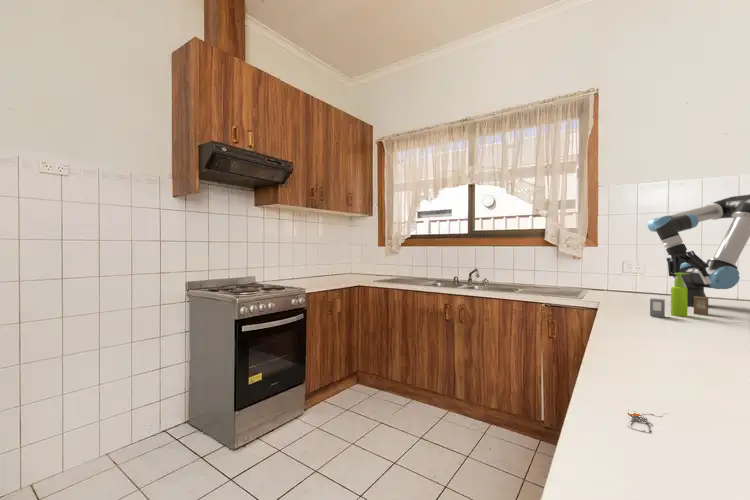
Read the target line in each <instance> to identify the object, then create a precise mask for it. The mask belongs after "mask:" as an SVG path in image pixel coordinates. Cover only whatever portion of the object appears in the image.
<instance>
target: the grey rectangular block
mask: <svg viewBox="0 0 750 500" xmlns="http://www.w3.org/2000/svg"><path fill="white" fill-rule="evenodd" d="M665 300H666V299H665V298H657V297H656V298H653V297H651V298H650V299H649V317H650V316H652V317H651V318H660V317H663V319H664V318H665V315H666V313H665V312H666V311H665V308H666V304H665V302H666V301H665Z"/></svg>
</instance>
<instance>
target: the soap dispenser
mask: <svg viewBox="0 0 750 500" xmlns="http://www.w3.org/2000/svg"><path fill="white" fill-rule="evenodd" d="M675 274H677V279H676V280H675V279H674V280H673V281H674V282H673V283H674V284H673V286H670V315H671V316H674V317H688V306H687V288H686V287H684V280H682V274H685V275H689V274H688V273H675Z"/></svg>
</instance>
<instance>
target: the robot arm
mask: <svg viewBox="0 0 750 500" xmlns="http://www.w3.org/2000/svg"><path fill="white" fill-rule="evenodd" d="M719 219H720V220H721V219H733V220H732V222H731V223H730V226H729V227H728V229H727V231H726V233H725V235H724V237H723V239H722V241H721V242H720V244H719V247H718V248H717V250H716V252H715V254H714V255H713V257H711V258H709V259H707V260H706V262H705V261H704V260H703V259H702V258H700V257H699V256H698V255H697V254H696V253H695V251H694V250H690V251H687V250H688V248H687V246H686V245H685V243H684V241H683V239H682V237H681V235H680V232H684V231H688V230H691V229H694V228H696V227H697V226H698V225H699V223H701V222H705V221H709V220H712V221H714V220H715V221H716V220H719ZM647 228H648V230H649V231H650V232H653V233H654V232H656V234H657V235H658V236H659V239H660V241H661V243H662V245H663V247H664V248H666V249H665V251H666V252H667V254H668V256H670V257H666V261H667V269H668V276H669V277H673V279H674V280H676V279H677V274H675V273H688V274H689V275H685V274H682V280H684V287H686V288H687V307H694V296H697V297H707V295H706V294H705V288H707V289H714V290H729V289H732V288H734V287H736V285H738V283H739V281H740V272H739V270H738V265H737V264H736V263H737V262H738V260H739V258H740V255H741V254H742V252H743V250H744V248H745V247H746V245H747V243H748V240H749V238H750V194H744V195H742V194H741V195H734V196H729V197H726V198H722V199H719V200H716V201H713V202H709V203H707V204H706V205H705V206H701V207H697V208H693V209H690V210H685V211H682V212H681V211H680V212H677V213H674V214H671V215H664V216H661V217H655V218H652V219H650V220H649V221H648V222H647Z"/></svg>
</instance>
